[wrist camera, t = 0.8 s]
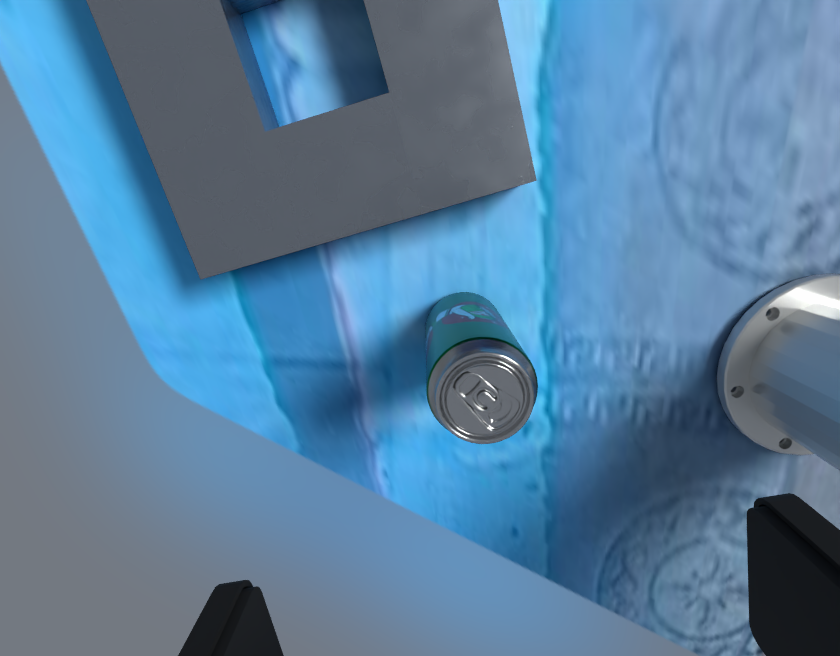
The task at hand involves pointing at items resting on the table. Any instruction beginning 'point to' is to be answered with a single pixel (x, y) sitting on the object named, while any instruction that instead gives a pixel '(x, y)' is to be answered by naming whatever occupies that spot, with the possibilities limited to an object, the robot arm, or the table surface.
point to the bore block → (315, 125)
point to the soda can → (476, 371)
